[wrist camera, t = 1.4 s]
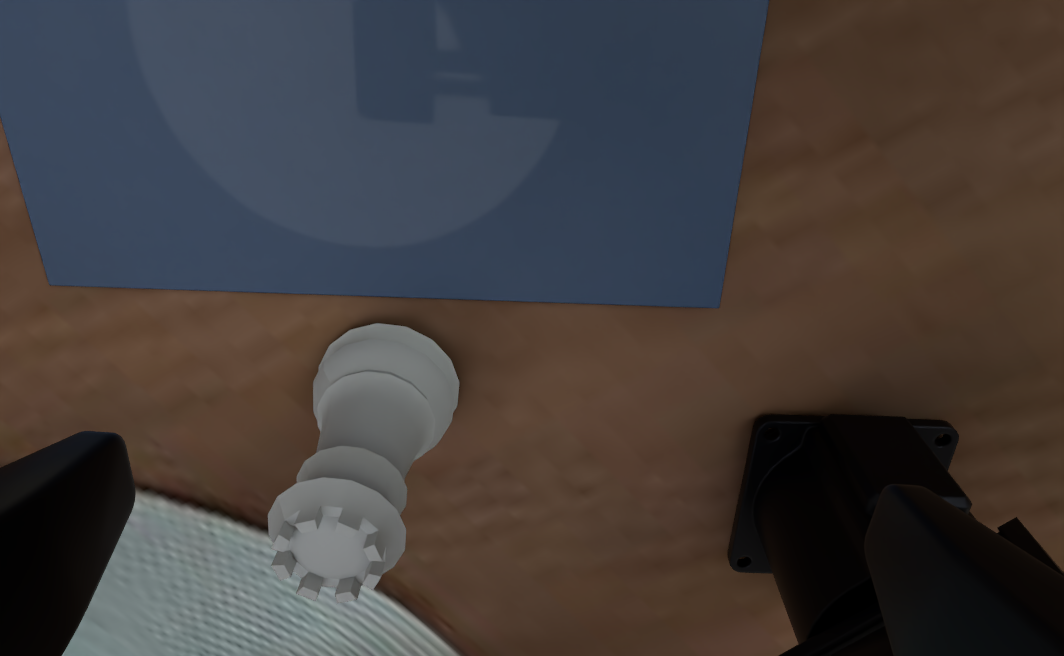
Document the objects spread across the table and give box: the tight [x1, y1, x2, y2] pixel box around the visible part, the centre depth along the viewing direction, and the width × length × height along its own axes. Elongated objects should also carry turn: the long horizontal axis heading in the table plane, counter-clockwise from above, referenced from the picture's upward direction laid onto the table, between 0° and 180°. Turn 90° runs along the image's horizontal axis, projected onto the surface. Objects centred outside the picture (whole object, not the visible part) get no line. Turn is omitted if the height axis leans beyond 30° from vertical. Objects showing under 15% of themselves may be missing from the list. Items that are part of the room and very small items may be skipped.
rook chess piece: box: [268, 323, 459, 604], centre depth 20 cm, size 4×4×8 cm
